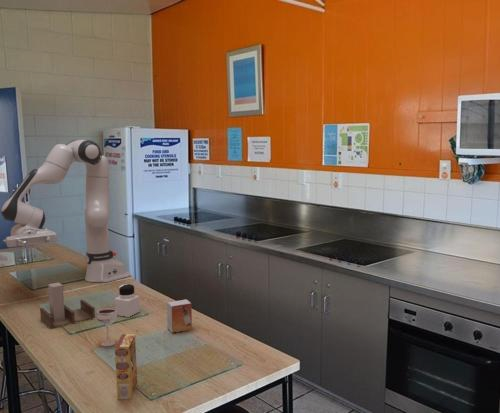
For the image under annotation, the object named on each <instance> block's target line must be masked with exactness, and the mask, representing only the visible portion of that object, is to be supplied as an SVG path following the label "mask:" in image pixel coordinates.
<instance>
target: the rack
mask: <svg viewBox="0 0 500 413" xmlns="http://www.w3.org/2000/svg"><path fill="white" fill-rule="evenodd" d="M79 301H80V308H77V309H76V308H75V309H71V308H70V307H69V306H67V305H66V304H65V303H64V314H65V320H62V321H58V322H53V316H51V315H50V312H48V311H47V310H46V309H45V308H44V307H40V308H39V310H40V311H39V312H40V321H42V322H43V323H44V324H45V325H46V326H47V327H48V328H49V329H51V330H52V329H57V328H60V327H61V328H62V327H63V326H62V325H66V324H70V323H74V324H77V323H76V322H78V323H81V322H80V321H82V322H85V320H87V321H90V320H89V319H91V320H94V319H93V318H95V319H96V310H95V307H94V306H93V305H91V304H90V303H88V302H87V301H86V300H84V299H80V300H79ZM70 325H71V324H70ZM66 326H67V325H66Z"/></svg>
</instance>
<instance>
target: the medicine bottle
mask: <svg viewBox="0 0 500 413" xmlns="http://www.w3.org/2000/svg"><path fill="white" fill-rule="evenodd" d="M118 295H119V296H117V297H115V298H114V308H116V313H117V316H118V315H119V317H123V316H125V318H130V316H131V317H132V315H133V316H135V315H137V314H139V313H140V295H136V294H135V286H134V285H133V284H130V283H126V284H121V285H120V286H119V287H118ZM138 312H139V313H138ZM136 313H137V314H136ZM134 314H135V315H134Z"/></svg>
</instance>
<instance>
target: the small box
mask: <svg viewBox="0 0 500 413" xmlns="http://www.w3.org/2000/svg"><path fill="white" fill-rule="evenodd" d="M192 310H193V309H192V303H191V302H190V301H189V300H188V299H181V300H174V301H173V300H172V301H167V302H166V315H167V317H166V322H167V326H166V327H167V330H168V329H169V330H170V331H169V330H168V331H169V332H170V333H171V334H174V332H176V333H180V331H182V332H188V331H192V327H193V326H192V324H193V321H192V319H193V318H192V316H193V314H192V312H193V311H192ZM187 330H188V331H187Z"/></svg>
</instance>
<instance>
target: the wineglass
mask: <svg viewBox="0 0 500 413" xmlns="http://www.w3.org/2000/svg"><path fill="white" fill-rule="evenodd" d="M96 313H97V314H96V320H97V322H98V323H99V324H101V325H103V326H104V327H106V328H105V329H106V339H107V340H105V341H104V340H103V341H101V343H100V345H101V346H102V347H110V346H113V345H115V344H116V341H115V340H112V339H111V340H109V326H110V325H111V324H113V323H114V322H115V321H117V317H118V315H117V313H116V308H115V306H114V307H113V306H105V307H104V306H103V307H101V308H99V309H97V310H96Z"/></svg>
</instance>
